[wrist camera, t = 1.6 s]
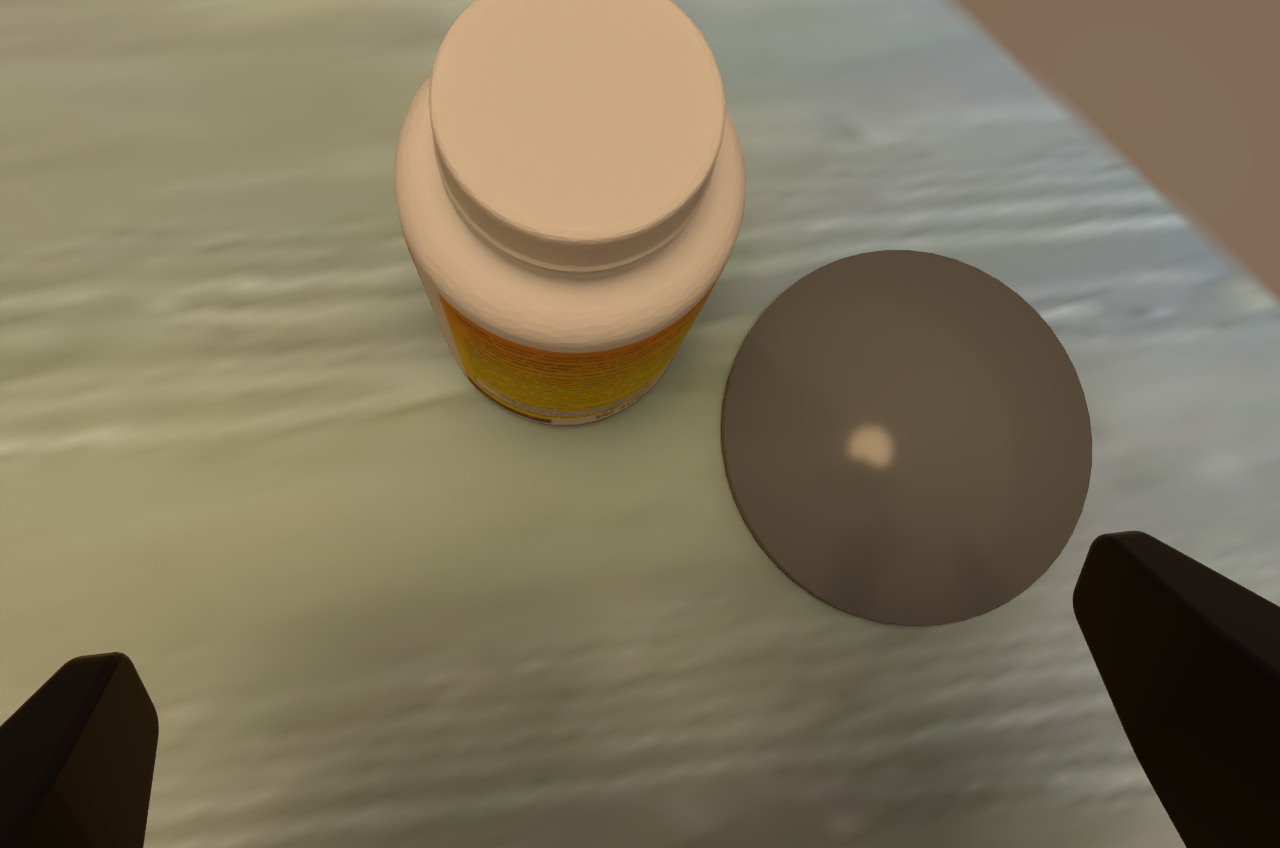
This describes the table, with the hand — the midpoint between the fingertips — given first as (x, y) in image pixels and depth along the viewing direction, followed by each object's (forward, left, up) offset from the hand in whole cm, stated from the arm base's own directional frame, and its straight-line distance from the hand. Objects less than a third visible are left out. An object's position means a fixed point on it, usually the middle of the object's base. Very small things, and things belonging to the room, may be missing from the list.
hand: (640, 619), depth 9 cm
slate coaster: (-5, -7, -13) cm, 15 cm away
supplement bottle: (+4, -5, -13) cm, 15 cm away
